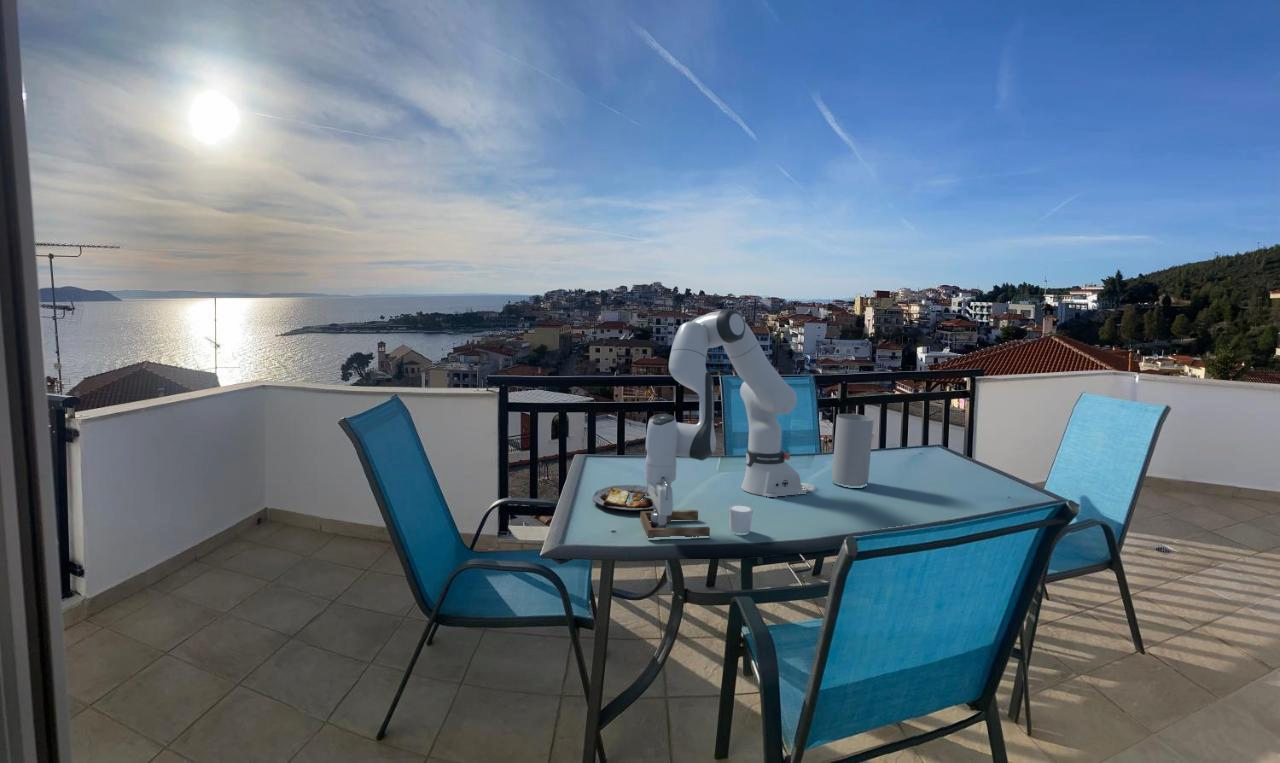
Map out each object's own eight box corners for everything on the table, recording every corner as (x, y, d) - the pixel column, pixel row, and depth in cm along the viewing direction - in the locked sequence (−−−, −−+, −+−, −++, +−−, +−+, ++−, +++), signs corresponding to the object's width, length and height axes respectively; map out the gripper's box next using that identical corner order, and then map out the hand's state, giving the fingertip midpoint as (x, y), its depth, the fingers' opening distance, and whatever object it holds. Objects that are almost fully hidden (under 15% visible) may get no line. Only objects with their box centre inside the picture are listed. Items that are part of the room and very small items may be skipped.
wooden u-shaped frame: (696, 519, 179) (697, 509, 179) (709, 538, 165) (709, 528, 164) (640, 521, 176) (640, 511, 176) (648, 540, 162) (648, 530, 162)
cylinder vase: (849, 477, 227) (854, 413, 224) (875, 487, 216) (881, 419, 212) (824, 481, 222) (829, 415, 218) (849, 491, 211) (854, 421, 207)
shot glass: (725, 527, 174) (726, 504, 173) (748, 527, 174) (749, 504, 173) (730, 536, 167) (731, 512, 166) (754, 536, 167) (755, 512, 166)
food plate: (660, 518, 179) (661, 507, 178) (585, 512, 182) (585, 501, 182) (670, 494, 203) (670, 484, 203) (603, 489, 207) (603, 479, 207)
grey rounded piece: (665, 526, 173) (665, 510, 172) (668, 533, 168) (668, 516, 167) (649, 527, 172) (649, 510, 171) (651, 533, 167) (652, 516, 167)
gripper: (679, 483, 158) (677, 533, 160) (664, 462, 178) (663, 507, 180) (655, 484, 157) (654, 534, 159) (644, 462, 177) (642, 507, 179)
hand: (658, 519), depth 170 cm, fingers open, 6 cm apart
